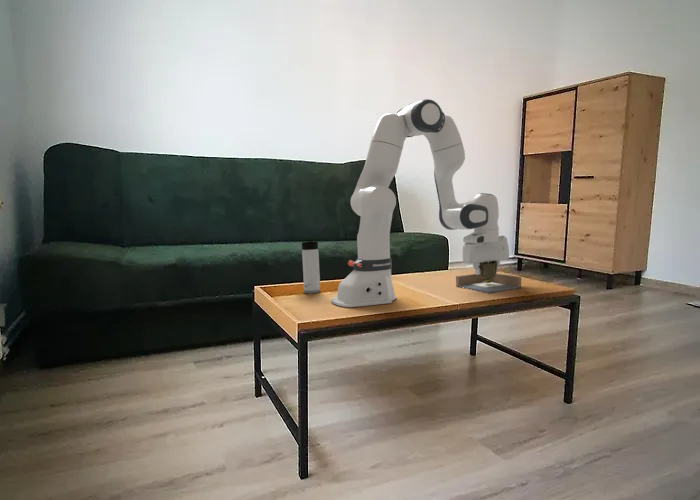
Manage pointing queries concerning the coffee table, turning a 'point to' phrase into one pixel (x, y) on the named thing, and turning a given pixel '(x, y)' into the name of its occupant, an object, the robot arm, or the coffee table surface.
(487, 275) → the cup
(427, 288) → the coffee table surface
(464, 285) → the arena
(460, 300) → the coffee table surface
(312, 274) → the travel mug
